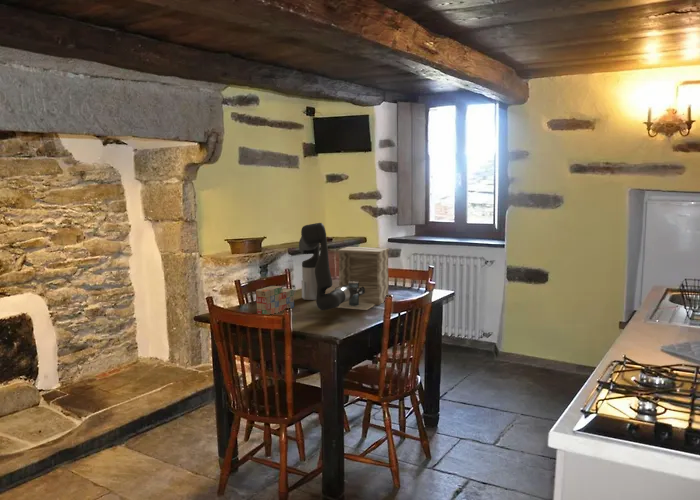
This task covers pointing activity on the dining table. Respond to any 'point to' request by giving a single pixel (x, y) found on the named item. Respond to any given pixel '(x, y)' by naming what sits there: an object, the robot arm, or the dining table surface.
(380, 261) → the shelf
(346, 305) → the tile
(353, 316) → the dining table surface
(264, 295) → the stack of blocks
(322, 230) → the robot arm
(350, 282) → the tin
